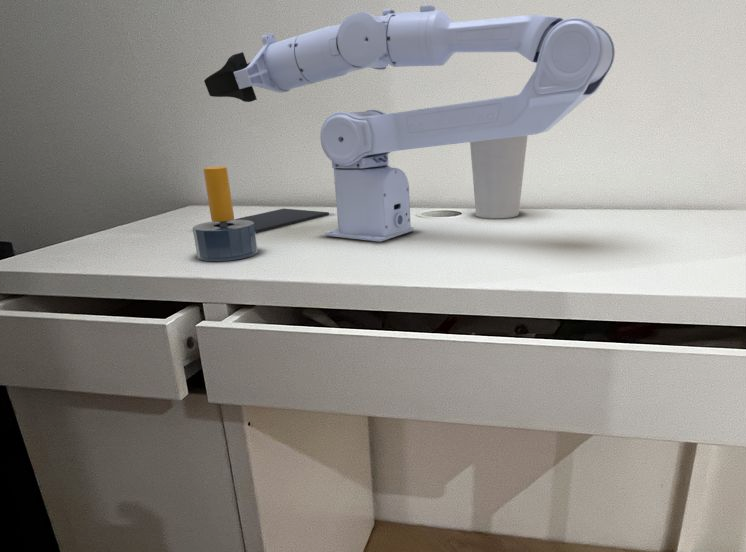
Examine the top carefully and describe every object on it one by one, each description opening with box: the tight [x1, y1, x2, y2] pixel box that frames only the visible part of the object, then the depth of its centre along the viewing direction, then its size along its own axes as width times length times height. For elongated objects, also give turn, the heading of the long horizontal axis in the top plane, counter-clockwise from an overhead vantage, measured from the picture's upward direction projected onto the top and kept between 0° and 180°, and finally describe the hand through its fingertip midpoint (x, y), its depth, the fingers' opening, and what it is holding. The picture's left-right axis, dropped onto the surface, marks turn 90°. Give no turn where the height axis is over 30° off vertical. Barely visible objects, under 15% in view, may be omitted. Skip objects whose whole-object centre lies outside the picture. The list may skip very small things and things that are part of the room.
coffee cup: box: [469, 135, 529, 219], centre depth 92 cm, size 10×10×15 cm
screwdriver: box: [203, 166, 235, 227], centre depth 73 cm, size 3×3×10 cm
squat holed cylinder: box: [192, 219, 258, 262], centre depth 75 cm, size 7×7×4 cm
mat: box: [233, 208, 330, 234], centre depth 95 cm, size 10×18×1 cm, turn 147°
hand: (225, 82), depth 85 cm, fingers open, 7 cm apart
